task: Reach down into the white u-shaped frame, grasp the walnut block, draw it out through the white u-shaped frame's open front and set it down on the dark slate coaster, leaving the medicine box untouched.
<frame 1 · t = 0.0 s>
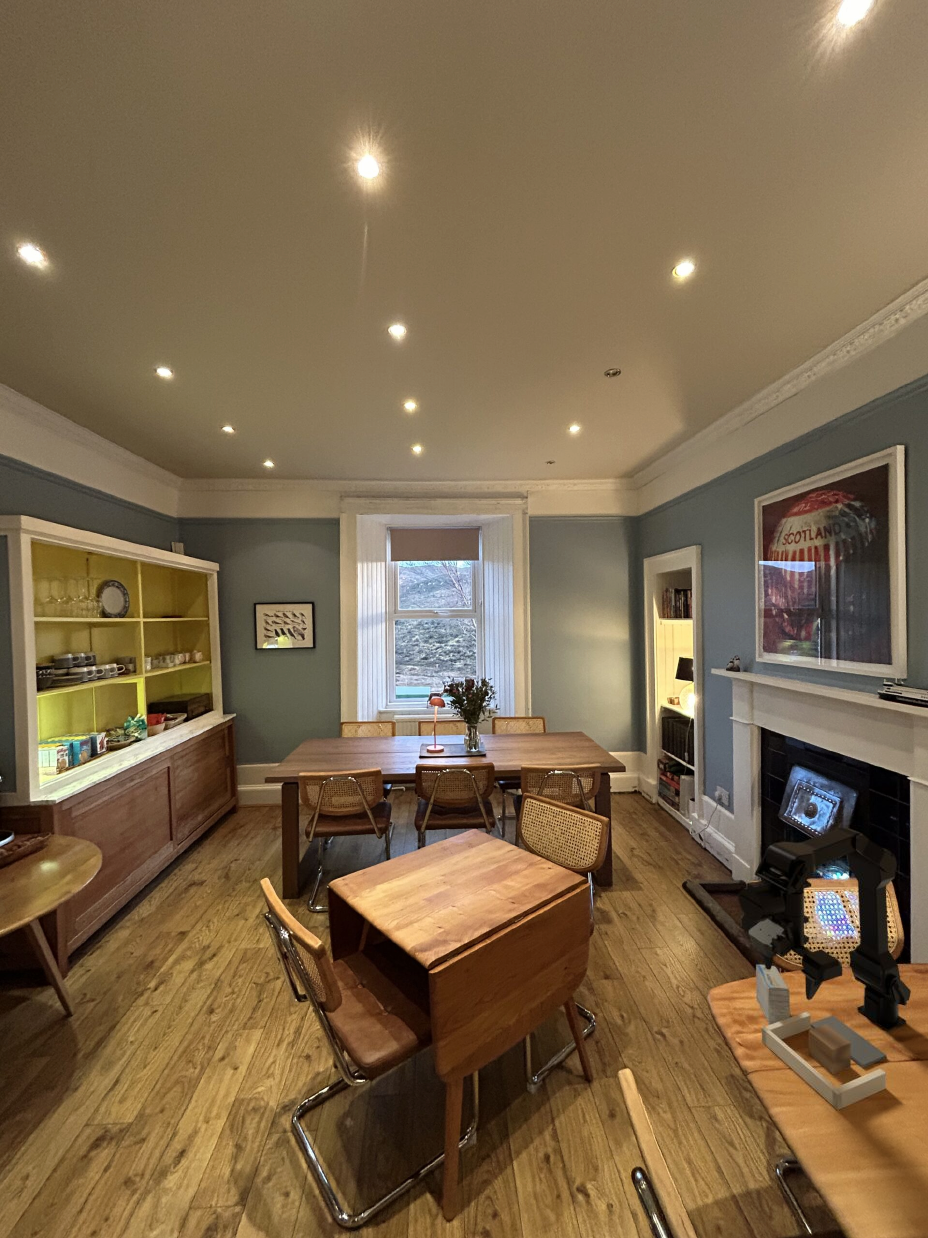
hand: (788, 983, 106), 15 cm above the table, fingers open, 9 cm apart
white u-shaped frame: (820, 1064, 104), on the table
walnut block: (829, 1061, 105), on the table
slate coaster: (846, 1041, 109), on the table
medicine box: (772, 1014, 117), on the table
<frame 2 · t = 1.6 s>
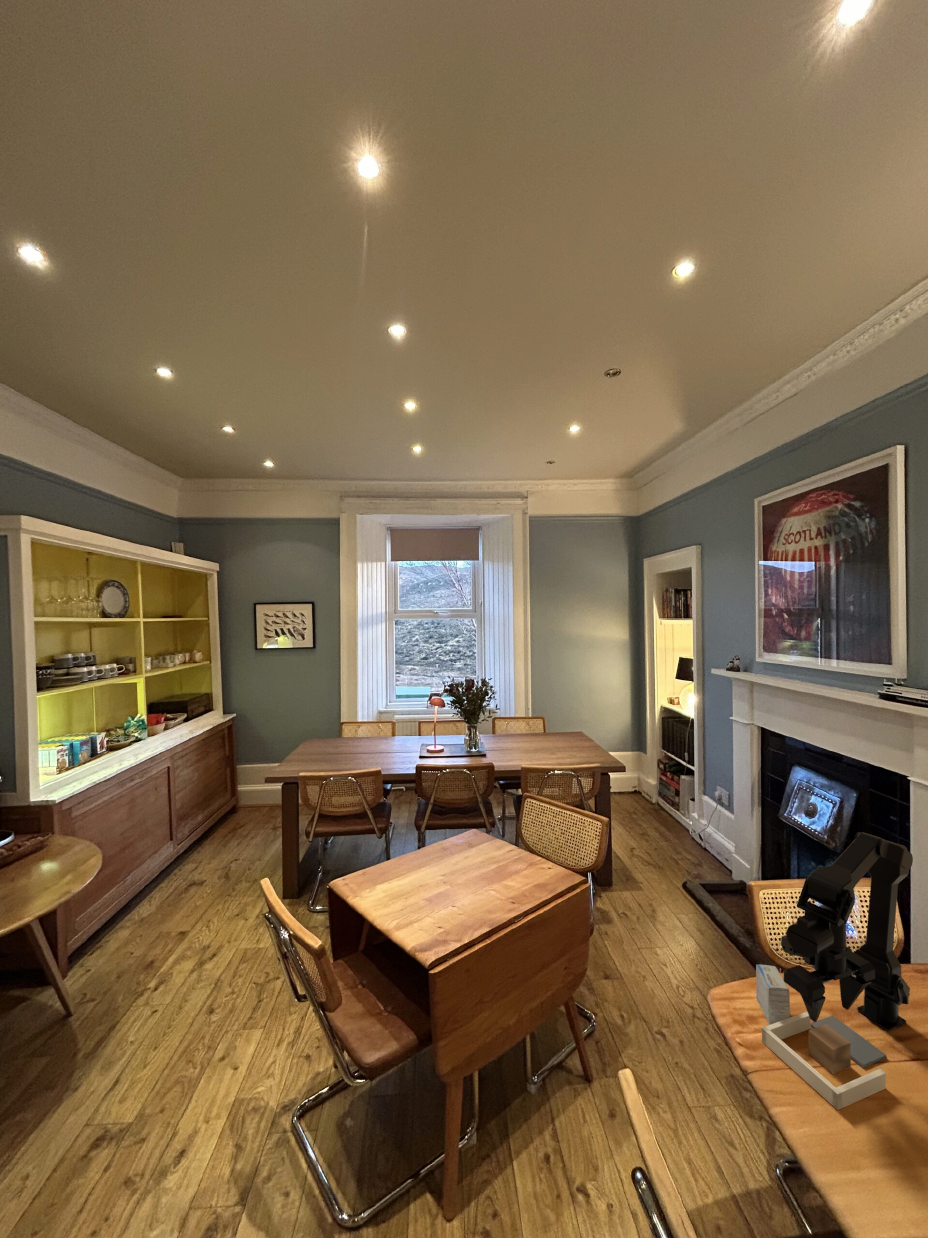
hand: (829, 1014, 104), 9 cm above the table, fingers open, 9 cm apart
nothing on the table moved.
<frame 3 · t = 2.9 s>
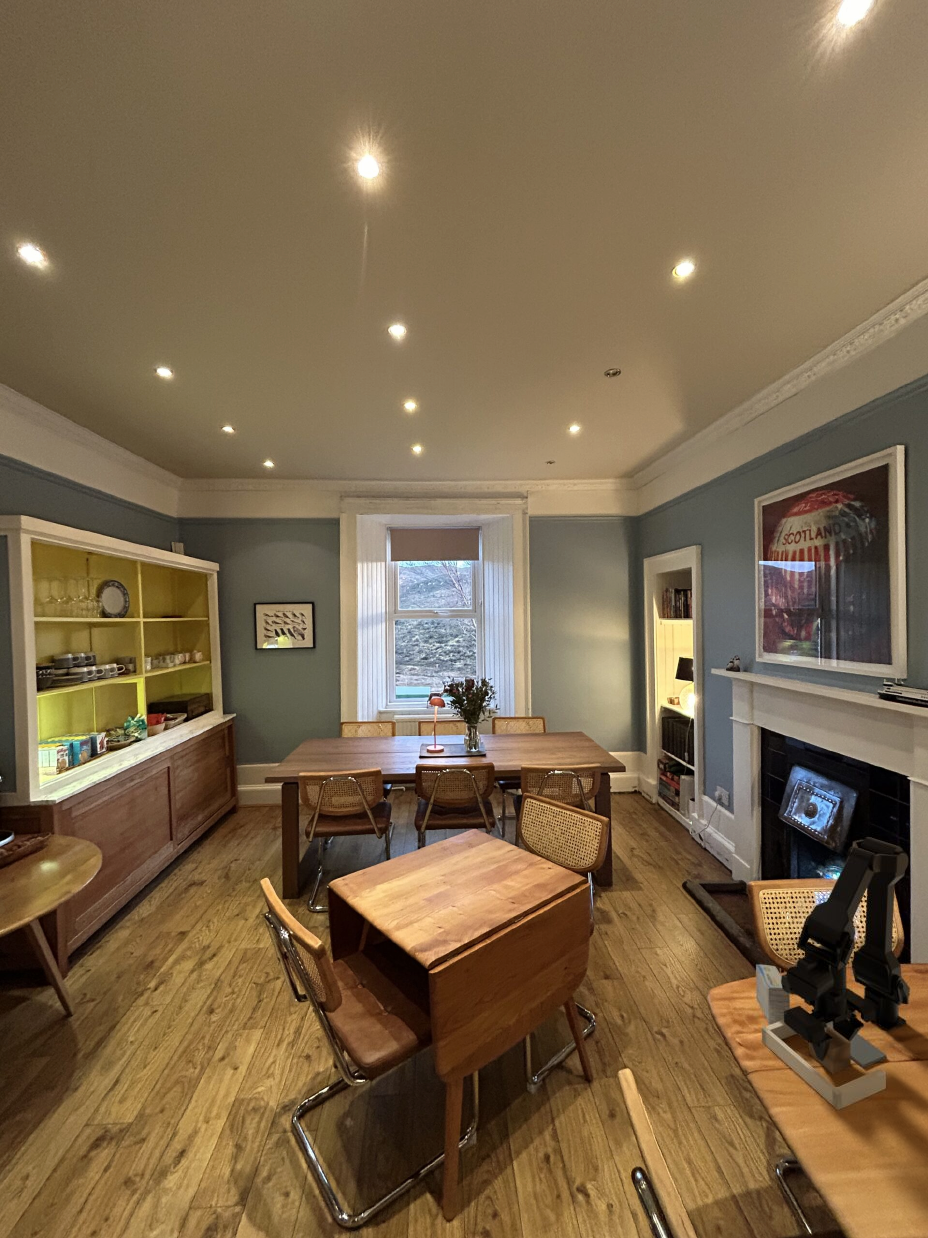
hand: (829, 1055, 105), 1 cm above the table, fingers closed on walnut block, 5 cm apart
walnut block: (829, 1060, 105), on the table, touching gripper
everything else where it was.
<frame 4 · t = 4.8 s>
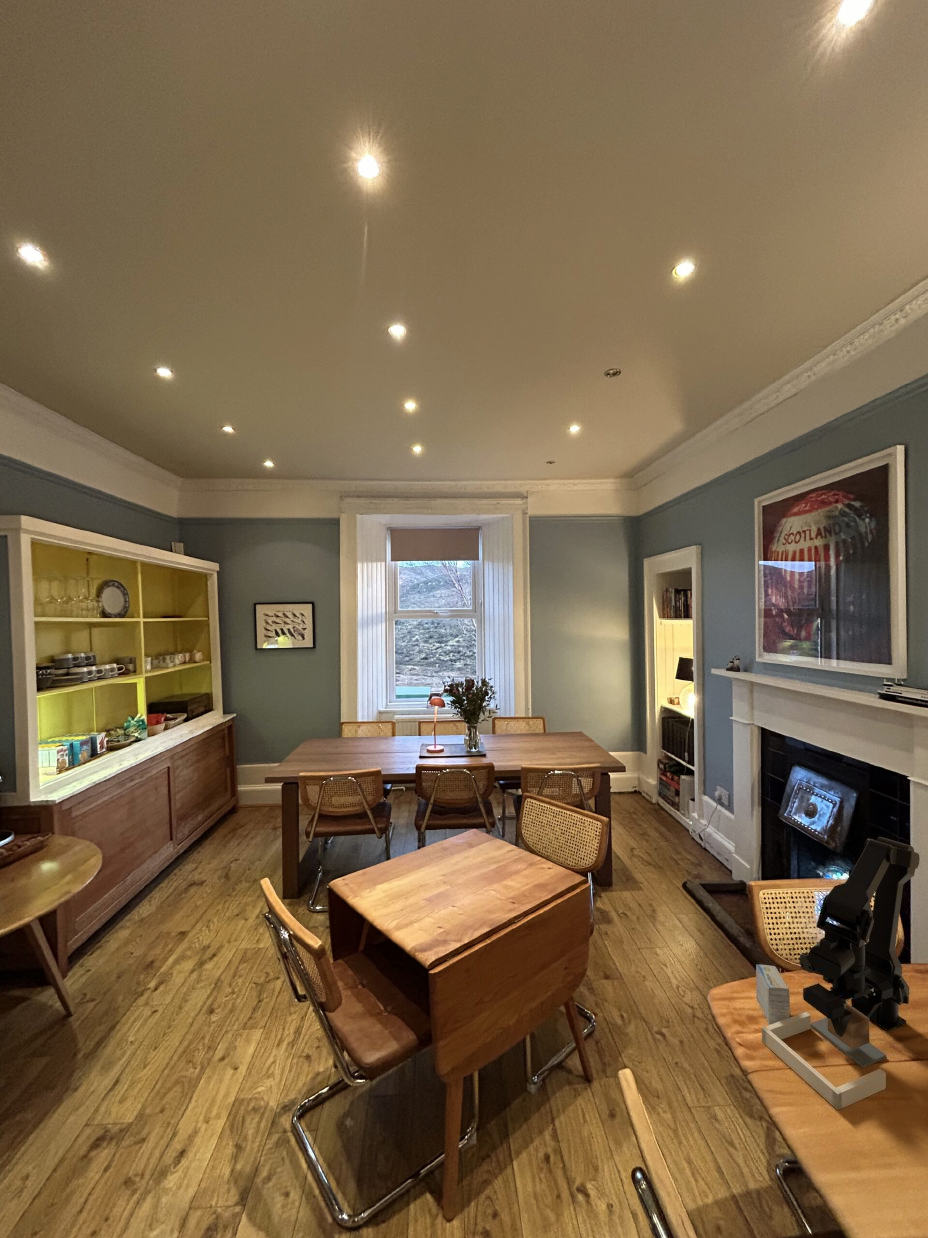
hand: (848, 1031, 106), 4 cm above the table, fingers closed on walnut block, 5 cm apart
walnut block: (848, 1036, 106), point 3 cm above the table, touching gripper
everything else where it was.
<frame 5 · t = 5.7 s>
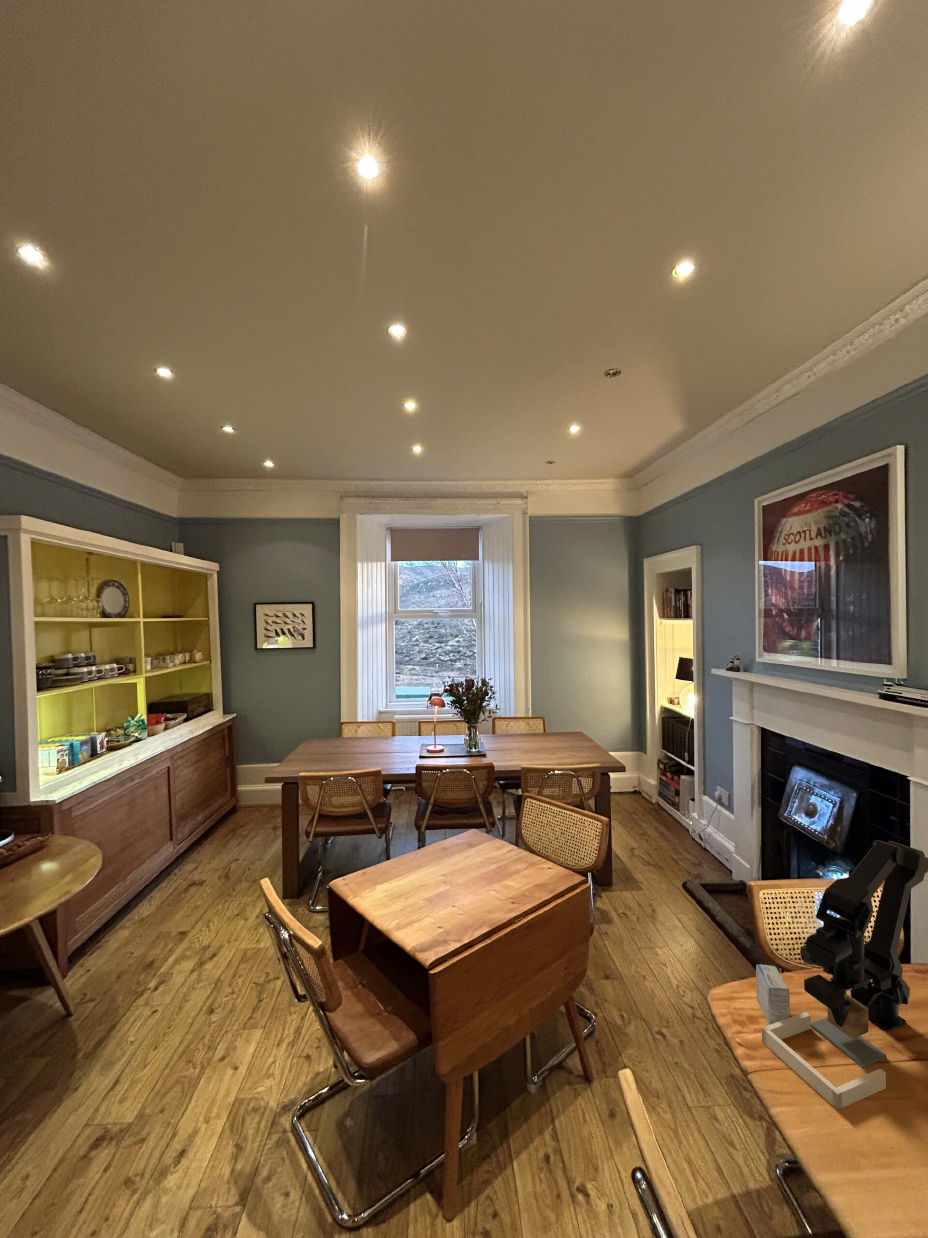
hand: (847, 1021, 109), 4 cm above the table, fingers closed on walnut block, 5 cm apart
walnut block: (847, 1026, 109), point 3 cm above the table, touching gripper
everything else where it was.
when the fingers open (2 cm above the table, at t = 6.5 s): walnut block stays where it is, resting on slate coaster.
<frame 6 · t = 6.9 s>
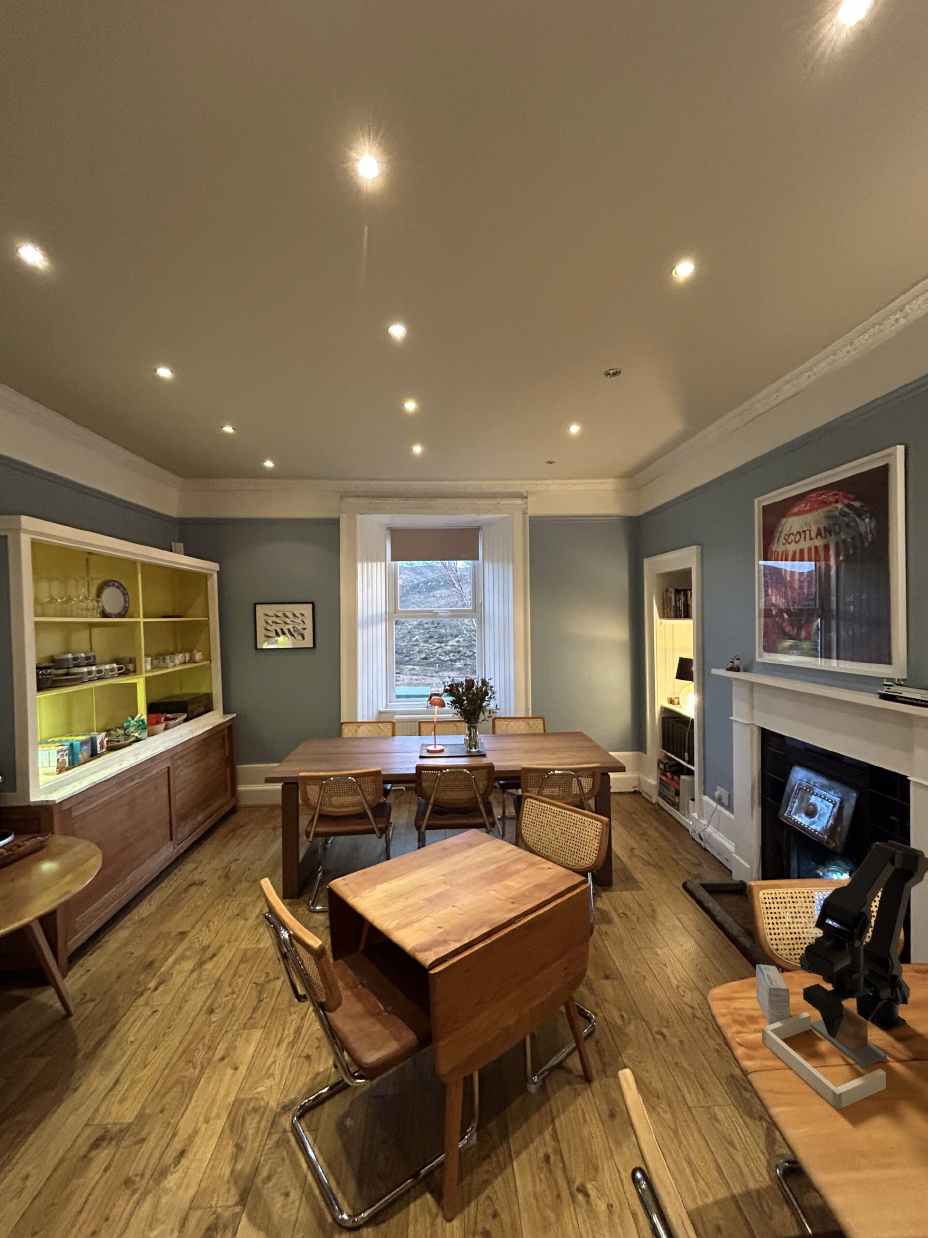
hand: (846, 1031, 109), 2 cm above the table, fingers open, 9 cm apart
walnut block: (847, 1038, 109), point 1 cm above the table, touching slate coaster
everything else where it was.
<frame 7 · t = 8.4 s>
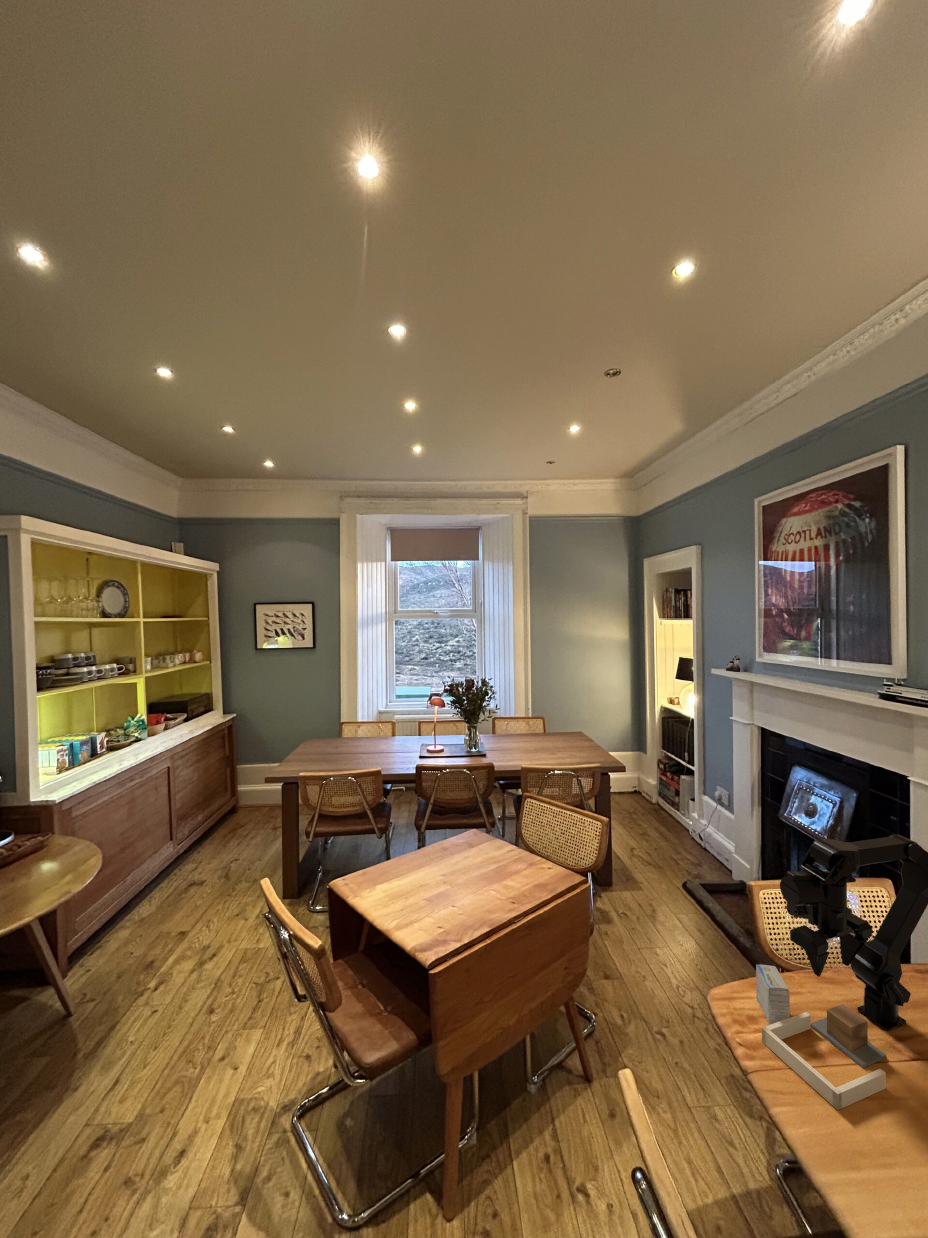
hand: (831, 970, 114), 12 cm above the table, fingers open, 9 cm apart
nothing on the table moved.
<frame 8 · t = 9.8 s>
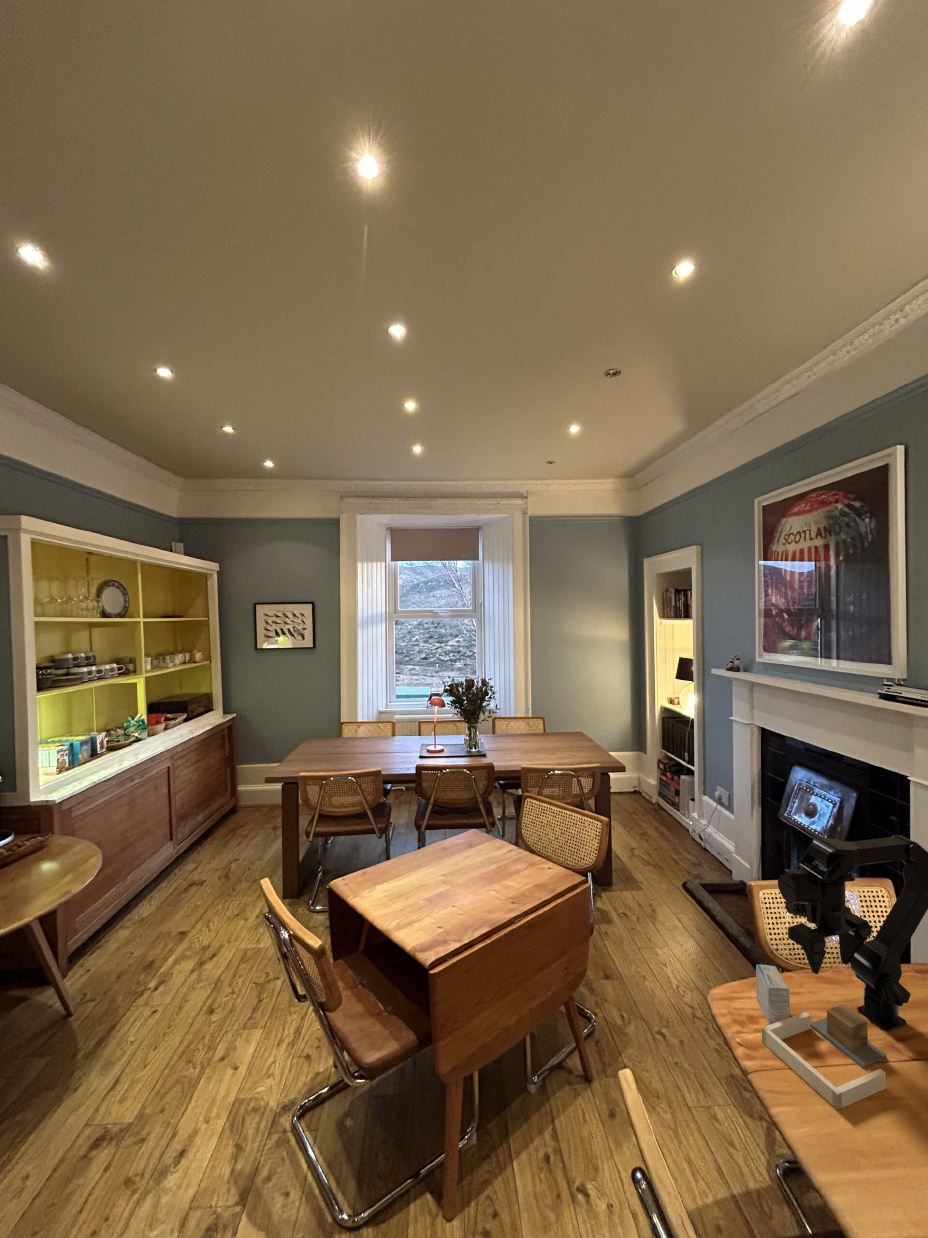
hand: (829, 968, 114), 12 cm above the table, fingers open, 9 cm apart
nothing on the table moved.
at the end: walnut block inside the target area on the slate coaster (0.0 cm from its centre), point 0.6 cm above the slate coaster's base; walnut block tilted 0°; the gripper is holding nothing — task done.
